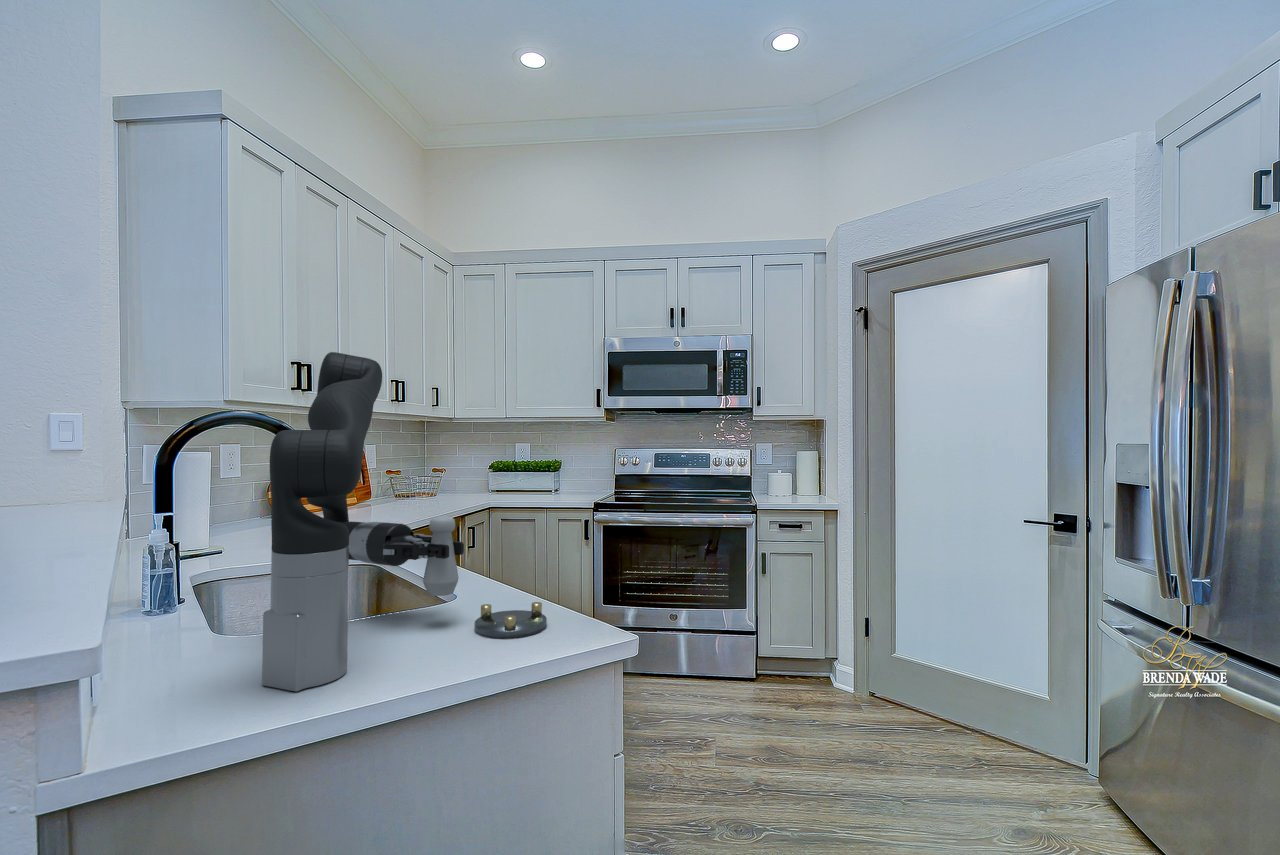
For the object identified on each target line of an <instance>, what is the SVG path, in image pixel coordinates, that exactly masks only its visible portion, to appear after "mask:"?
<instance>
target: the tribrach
mask: <svg viewBox="0 0 1280 855" xmlns="http://www.w3.org/2000/svg"><path fill="white" fill-rule="evenodd" d="M547 621H548V620H547V617H546V615H545V614H543V603H542V602H540V601H535V602H532V603H531V609H530V610H526V609H525V610H520V609H519V610H517V609H516V610H514V609H513V610H512V609H511V610H502V611H496V612H492V604H490V603H487V604H486V603H484V604H481V605H480V616H479V617H478V618H477V619H475V621H474V632H475V634H477V635H479V636H481V637H483V638H489V639H495V640H497V639H498V640H509V639H510V640H511V639H521V638H526V637H530V636H534V635H537V634H539V633H542V632H543V631H544V630H545V629H547V626H548V625H547Z"/></svg>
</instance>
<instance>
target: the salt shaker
mask: <svg viewBox="0 0 1280 855" xmlns="http://www.w3.org/2000/svg"><path fill="white" fill-rule="evenodd" d="M428 526H429V527H428V528H429V531H430V532H432V535H431V536H432V540H431V544H443V545H448V546H449V557H448V558H445V559H443V558H436V557H435V556H434V557H429V558H427V560H426V564H425V568H424V569H425V570H424V575H423V579H422V581H423V585H424V588H425V591H426V593H427V595H429V596H433V597H441V596H444V597H445V596H448V595H452V594H454V593H455V589H456V587H457V585H458V582H459V571H458V566H457V561H456V555H455V553H454V546H453V541H454V539H452V538H453V533H452V532H453V531H455V529H456V520H455V518H453V517H450V516H435V517H433V518H431V519H430V521H429V524H428Z"/></svg>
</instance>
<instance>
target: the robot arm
mask: <svg viewBox="0 0 1280 855" xmlns="http://www.w3.org/2000/svg"><path fill="white" fill-rule="evenodd" d="M382 383H383V371H382V366H380V363H379V362H377V361H376V360H374V359H372V358H368V357H364V356H357V355H352V354H346V353H341V352H335V351H331V352H330V351H329V352H328V353H327V354H326V355H325V356H324V358H323V359H322V362H321V364H320V368H319V374H318V381H317V390H316V396H315V398H314V399H313V402H312V404H311V405H310V407H309V411H308V413H307V423H308V427H309V429H285V430H284V429H283V430H280V431H278V432H277V433H276V435H274V437H273V439H272V441H271V445H270V448H269V449H270V450H269V480H270V481H269V484H270V501H271V502H270V504H271V505H270V506H271V507H270V508H271V511H270V512H271V520H270V521H271V524H270V526H271V559H270V560H271V562H270V563H271V564H270V566H271V567H270V609H267V610H265V611H264V612H263V615H262V653H261V654H262V662H261V663H262V664H261V666H262V667H261V679H262V680H261V686H265V687H270V688H277V689H281V690H285V691H292V692H300V691H302V690H304V689H307V688H313V687H318V686H321V685H325V684H328V683H331V682H333V681H335V680H338V679H339V678H342V677H343V676H345V674H346V673H347V671H348V640H349V638H348V635H349V634H348V630H349V628H348V624H349V569H350V568H349V566H350V564H349V563H350V562H349V561H350V560H352V561H359V562H363V563H366V564H373V565H374V564H375V565H381V566H382V565H383V566H390V567H399V566H402V565H403V564H405V563H406V562H408V561H409V560H413V561H417V560H421V559H428V558H429V557H434V556H435V557H436V558H443V559H445V558H448V557H449V546H448V545H443V544H431V540H432V535H427V534H426V535H425V534H424V533H414V532H413V530H412V529H411V527H410V526H408V525H406V524H404V523H395V522H394V523H393V522H384V521H383V522H381V521H370V522H368V521H367V522H364V521H363V522H361V521H350V520H349V511H348V510H349V509H348V500H347V498H348V495H350V494H351V493H352V492H354V490H355V489H356V488H357V486H358V483H359V480H360V478H361V476H362V470H363V469H362V467H363V458H364V448H365V447H364V446H365V440H366V436H367V433H368V430H369V428H370V425H371V422H372V418H373V417H372V416H373V411H374V405H375V402H376V401H377V399H378V396H379V393H380V392H381V389H382V388H381V387H382ZM302 499H306V501H307V503H308V504H309V505H311V506H312V507H313V506H314V507H318V508H321V511H322V516H319V515H318V514H316V513H313V512H312V511H310V510H308V508H306V506H304V504H303V502H302ZM452 539H453V537H452ZM453 546H454V553H455V556H462V555H463V554H464V553H465V552H464V551H465V549H464V548H465V544H464V542H463V541H455V540H454V539H453Z"/></svg>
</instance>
